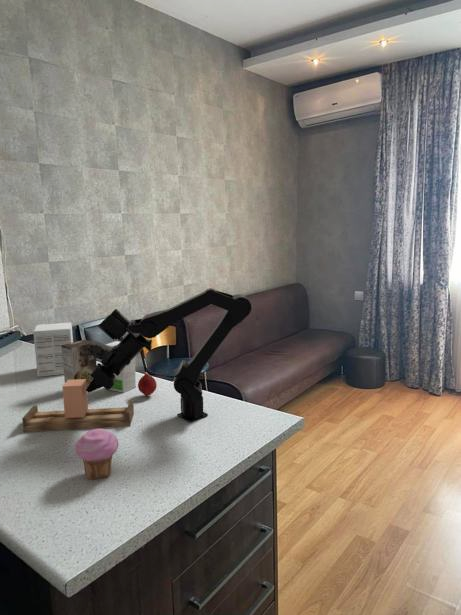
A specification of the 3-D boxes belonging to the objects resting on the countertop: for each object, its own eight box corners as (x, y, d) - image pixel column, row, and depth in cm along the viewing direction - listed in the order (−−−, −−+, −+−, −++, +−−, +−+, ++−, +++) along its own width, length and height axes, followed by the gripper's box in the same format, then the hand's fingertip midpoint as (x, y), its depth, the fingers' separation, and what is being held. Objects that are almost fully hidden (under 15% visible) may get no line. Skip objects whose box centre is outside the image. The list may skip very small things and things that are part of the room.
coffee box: (88, 383, 158) (84, 339, 156) (99, 387, 154) (95, 341, 152) (64, 391, 151) (60, 344, 149) (75, 395, 147) (71, 347, 145)
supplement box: (40, 367, 179) (36, 324, 177) (75, 364, 183) (71, 321, 180) (36, 377, 167) (32, 331, 164) (74, 373, 171) (70, 328, 168)
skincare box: (105, 389, 152) (102, 344, 150) (118, 383, 158) (116, 340, 155) (124, 393, 148) (121, 347, 146) (137, 387, 154) (135, 342, 152)
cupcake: (76, 488, 93) (73, 442, 92) (79, 467, 101) (75, 425, 100) (120, 481, 95) (118, 436, 94) (119, 461, 104) (116, 420, 102)
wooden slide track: (133, 413, 132) (133, 400, 131) (130, 426, 123) (129, 412, 122) (34, 418, 129) (33, 405, 128) (23, 432, 120) (22, 418, 120)
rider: (88, 412, 128) (86, 379, 127) (84, 419, 123) (81, 385, 121) (70, 412, 128) (67, 379, 126) (65, 421, 122) (62, 386, 121)
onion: (158, 393, 148) (157, 369, 146) (154, 399, 142) (153, 375, 141) (141, 392, 148) (140, 369, 147) (136, 399, 143) (134, 375, 141)
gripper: (109, 324, 131) (73, 362, 132) (97, 339, 113) (54, 383, 114) (138, 349, 133) (102, 387, 134) (130, 368, 115) (88, 411, 116)
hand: (87, 391), depth 125 cm, fingers closed
